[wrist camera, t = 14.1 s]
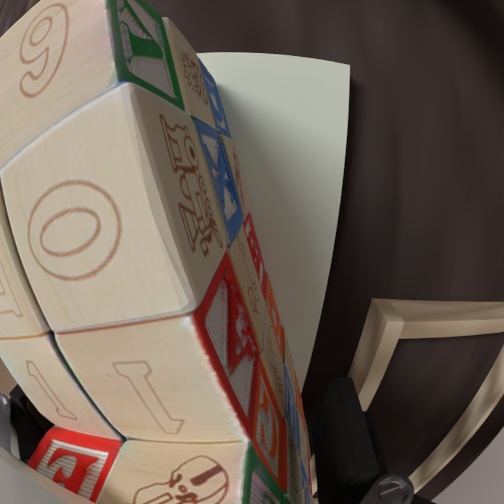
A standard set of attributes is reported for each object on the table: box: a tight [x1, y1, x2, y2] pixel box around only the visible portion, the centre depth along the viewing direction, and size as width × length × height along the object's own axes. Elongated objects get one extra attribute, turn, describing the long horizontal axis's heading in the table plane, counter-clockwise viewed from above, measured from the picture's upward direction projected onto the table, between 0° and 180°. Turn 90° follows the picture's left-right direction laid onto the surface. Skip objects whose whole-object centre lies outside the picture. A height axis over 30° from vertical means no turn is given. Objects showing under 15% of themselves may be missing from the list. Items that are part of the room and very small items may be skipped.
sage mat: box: [196, 53, 350, 393], centre depth 14 cm, size 26×10×1 cm, turn 175°
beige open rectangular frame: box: [310, 298, 504, 504], centre depth 17 cm, size 29×16×2 cm, turn 175°
